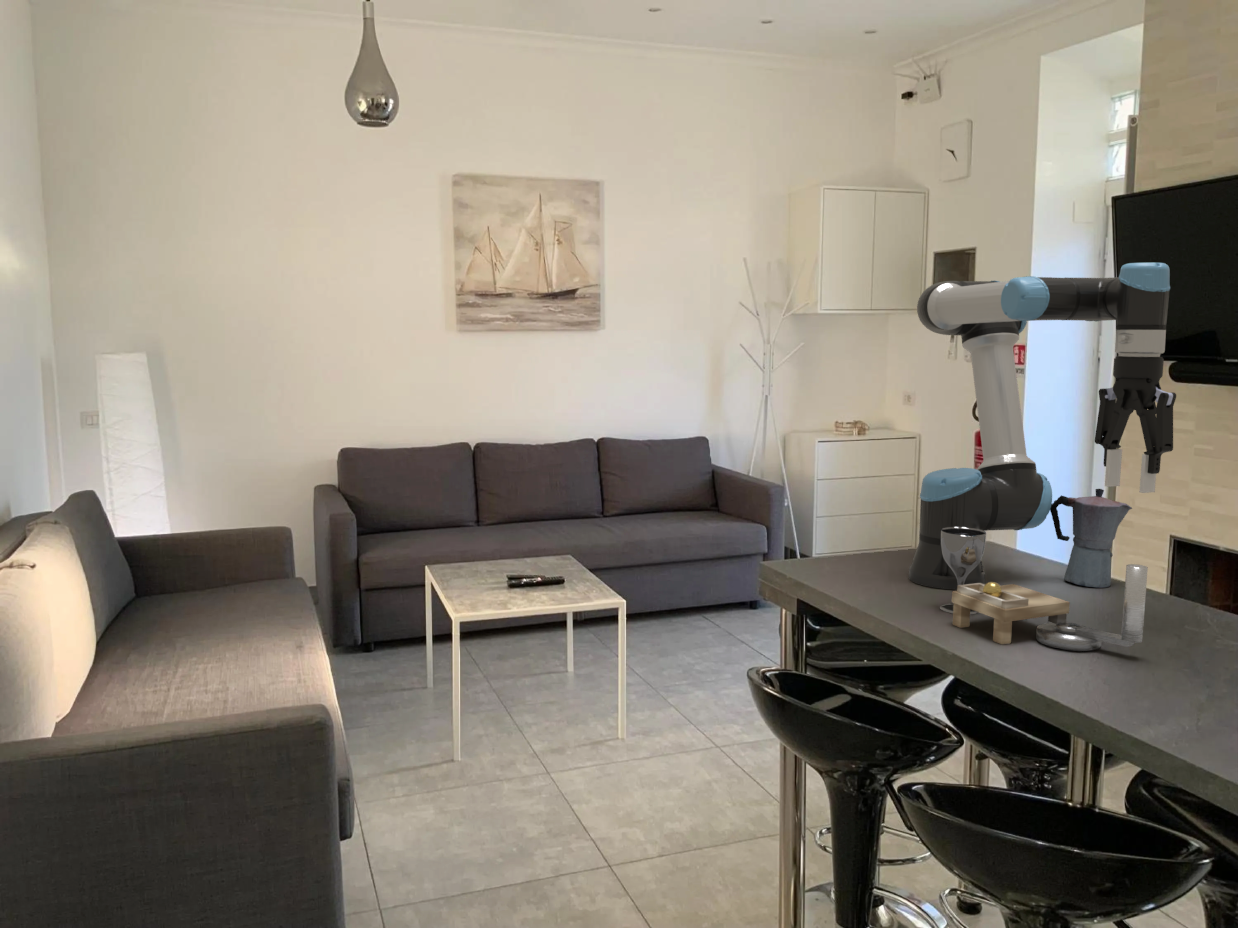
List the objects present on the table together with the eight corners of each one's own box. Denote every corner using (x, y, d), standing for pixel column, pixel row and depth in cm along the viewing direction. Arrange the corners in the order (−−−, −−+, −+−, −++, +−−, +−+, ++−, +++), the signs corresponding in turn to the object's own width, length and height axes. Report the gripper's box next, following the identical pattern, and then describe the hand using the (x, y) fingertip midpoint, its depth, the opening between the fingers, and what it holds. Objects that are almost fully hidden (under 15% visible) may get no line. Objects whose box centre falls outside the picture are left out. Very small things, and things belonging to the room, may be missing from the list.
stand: (950, 623, 177) (952, 584, 176) (1011, 615, 182) (1014, 577, 181) (1003, 645, 165) (1006, 602, 164) (1067, 635, 170) (1070, 594, 169)
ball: (978, 597, 172) (979, 580, 172) (992, 595, 173) (993, 579, 173) (991, 601, 169) (992, 584, 169) (1004, 600, 170) (1005, 583, 170)
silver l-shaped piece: (1025, 640, 167) (1030, 555, 165) (1052, 628, 173) (1057, 546, 171) (1127, 664, 154) (1134, 573, 153) (1152, 651, 161) (1159, 563, 159)
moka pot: (1132, 590, 200) (1139, 493, 197) (1051, 586, 203) (1057, 490, 200) (1119, 579, 209) (1125, 486, 206) (1041, 575, 212) (1047, 483, 209)
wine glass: (944, 601, 192) (948, 525, 190) (987, 607, 187) (991, 530, 185) (931, 610, 185) (935, 532, 183) (975, 617, 181) (979, 537, 179)
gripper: (1076, 354, 176) (1068, 482, 179) (1173, 357, 158) (1162, 499, 161) (1108, 353, 178) (1099, 480, 182) (1207, 356, 161) (1195, 496, 164)
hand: (1129, 488), depth 171 cm, fingers open, 6 cm apart
